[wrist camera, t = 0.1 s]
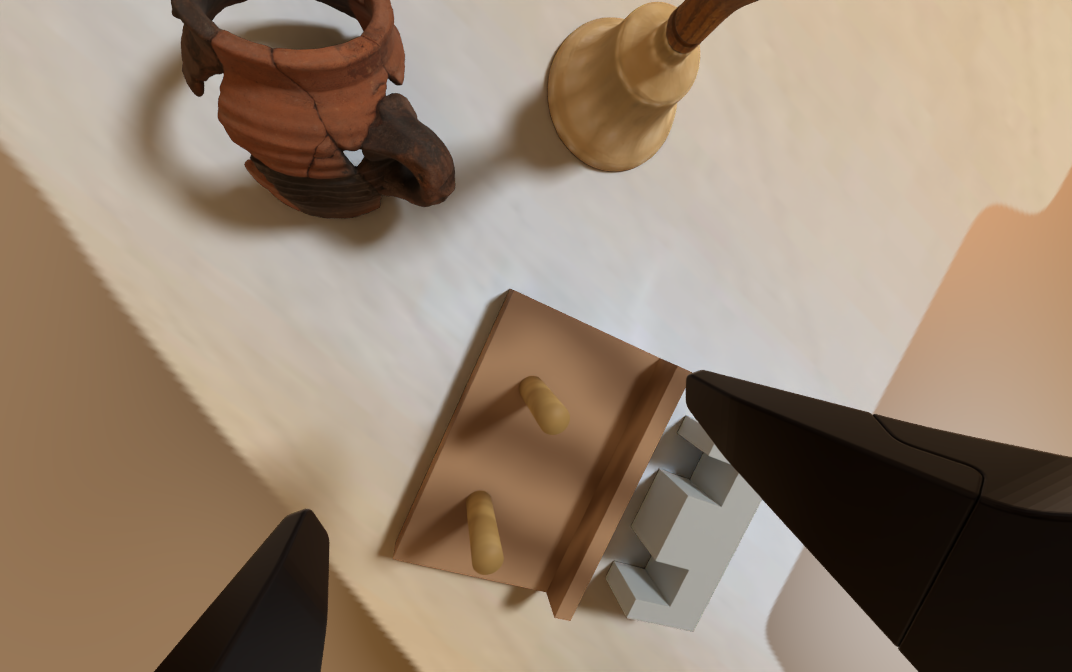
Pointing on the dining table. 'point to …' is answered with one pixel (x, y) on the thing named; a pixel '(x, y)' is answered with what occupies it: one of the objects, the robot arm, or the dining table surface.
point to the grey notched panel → (685, 538)
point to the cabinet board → (541, 454)
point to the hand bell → (629, 79)
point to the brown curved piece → (320, 112)
